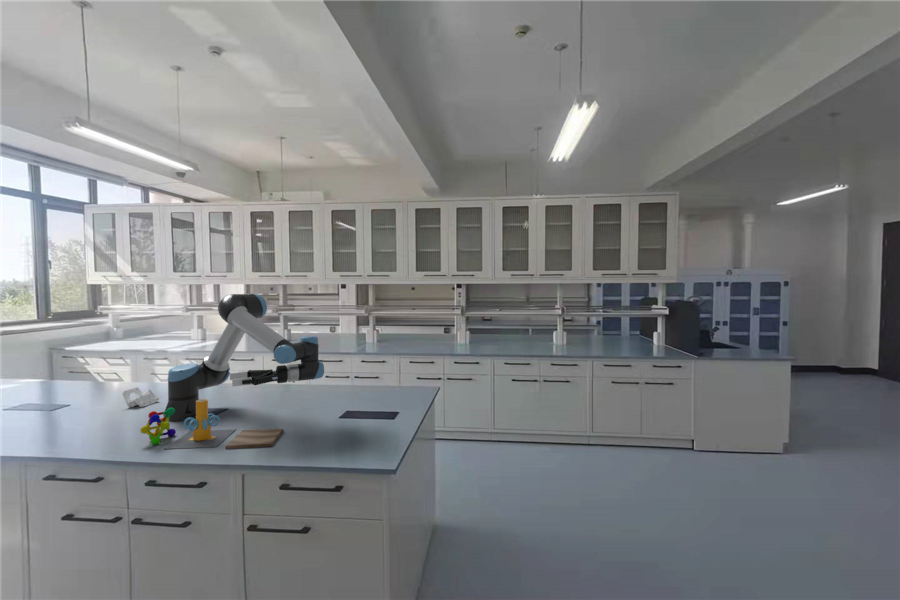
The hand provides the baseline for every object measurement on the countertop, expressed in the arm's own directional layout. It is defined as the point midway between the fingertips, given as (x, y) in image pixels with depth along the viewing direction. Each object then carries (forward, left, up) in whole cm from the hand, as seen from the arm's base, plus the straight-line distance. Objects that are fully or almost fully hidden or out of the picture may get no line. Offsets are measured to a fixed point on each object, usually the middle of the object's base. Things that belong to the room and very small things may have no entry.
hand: (230, 379), depth 158 cm
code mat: (+4, -9, -22) cm, 24 cm away
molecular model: (+3, -25, -23) cm, 34 cm away
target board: (+7, +12, -22) cm, 26 cm away
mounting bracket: (-49, -62, -23) cm, 82 cm away
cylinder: (+4, -9, -22) cm, 24 cm away
